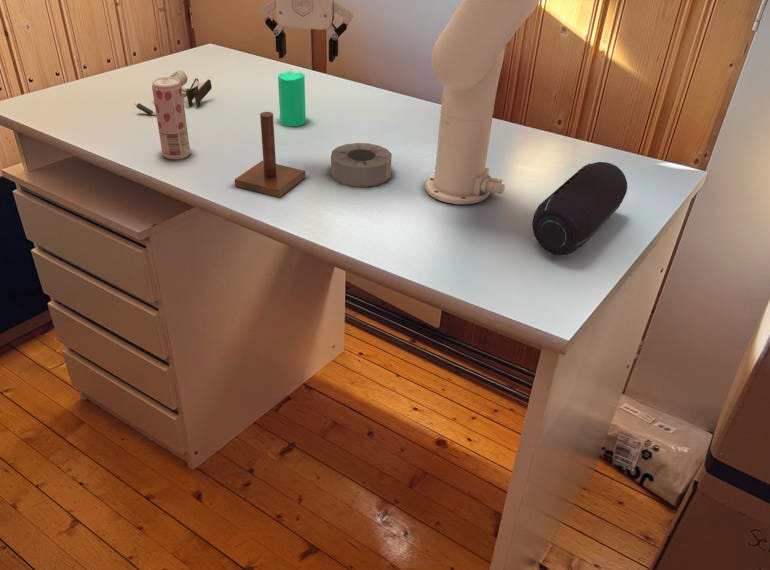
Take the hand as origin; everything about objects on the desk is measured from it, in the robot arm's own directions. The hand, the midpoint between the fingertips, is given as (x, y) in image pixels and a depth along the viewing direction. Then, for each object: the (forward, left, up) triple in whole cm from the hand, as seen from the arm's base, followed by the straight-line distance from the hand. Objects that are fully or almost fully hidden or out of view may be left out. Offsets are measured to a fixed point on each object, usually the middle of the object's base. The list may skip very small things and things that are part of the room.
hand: (307, 58), depth 136 cm
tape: (-12, +1, -20) cm, 24 cm away
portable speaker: (-56, +5, -21) cm, 60 cm away
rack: (+2, +13, -20) cm, 24 cm away
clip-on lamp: (+44, -12, -21) cm, 50 cm away
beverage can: (+26, +11, -21) cm, 35 cm away
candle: (+14, -17, -21) cm, 30 cm away
